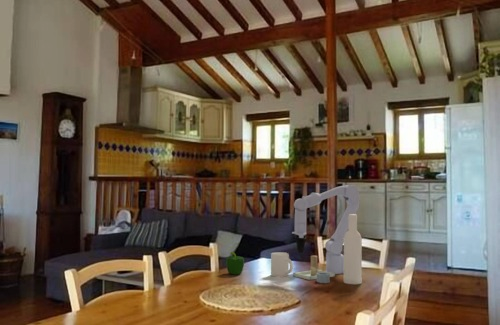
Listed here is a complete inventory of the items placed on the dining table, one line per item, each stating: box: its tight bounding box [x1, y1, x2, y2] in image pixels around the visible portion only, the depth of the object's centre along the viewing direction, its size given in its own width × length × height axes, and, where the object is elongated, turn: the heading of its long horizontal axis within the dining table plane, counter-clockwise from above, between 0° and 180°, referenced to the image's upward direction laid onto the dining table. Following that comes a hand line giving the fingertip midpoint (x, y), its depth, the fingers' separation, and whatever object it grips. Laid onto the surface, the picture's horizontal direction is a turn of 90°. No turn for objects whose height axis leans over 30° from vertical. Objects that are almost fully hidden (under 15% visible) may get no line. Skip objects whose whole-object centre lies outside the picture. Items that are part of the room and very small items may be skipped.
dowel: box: [310, 255, 318, 276], centre depth 213 cm, size 3×3×9 cm
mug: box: [270, 251, 294, 278], centre depth 213 cm, size 12×8×10 cm
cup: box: [316, 272, 331, 284], centre depth 201 cm, size 6×6×4 cm
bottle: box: [342, 213, 363, 285], centre depth 201 cm, size 8×8×30 cm
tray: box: [293, 269, 336, 281], centre depth 213 cm, size 16×11×2 cm
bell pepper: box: [225, 252, 245, 275], centre depth 218 cm, size 8×8×10 cm
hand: (300, 251), depth 223 cm, fingers open, 7 cm apart
